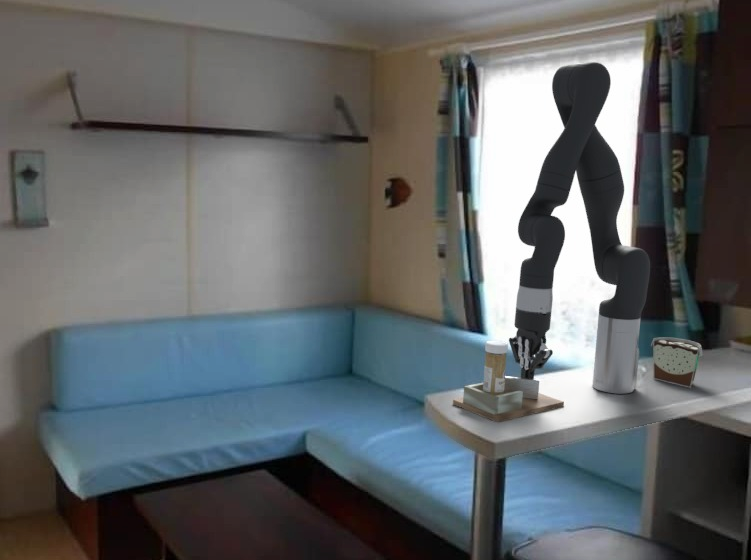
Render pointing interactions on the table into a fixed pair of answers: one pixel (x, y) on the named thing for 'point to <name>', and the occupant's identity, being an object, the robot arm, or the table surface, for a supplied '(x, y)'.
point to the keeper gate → (522, 386)
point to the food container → (675, 360)
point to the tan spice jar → (495, 367)
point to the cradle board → (503, 403)
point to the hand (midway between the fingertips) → (526, 385)
